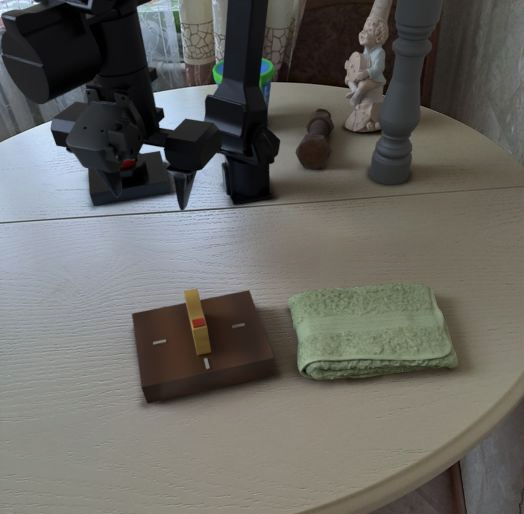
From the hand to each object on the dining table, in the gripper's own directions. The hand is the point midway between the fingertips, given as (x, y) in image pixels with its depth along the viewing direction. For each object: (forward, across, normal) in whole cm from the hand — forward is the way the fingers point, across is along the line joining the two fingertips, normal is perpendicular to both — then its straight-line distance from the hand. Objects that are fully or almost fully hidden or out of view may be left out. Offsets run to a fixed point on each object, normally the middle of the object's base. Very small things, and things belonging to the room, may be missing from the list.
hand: (150, 201), depth 62 cm
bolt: (+10, +11, +36) cm, 39 cm away
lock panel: (+9, +12, -13) cm, 20 cm away
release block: (+9, -15, +15) cm, 23 cm away
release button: (+6, -15, +15) cm, 22 cm away
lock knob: (+6, +12, -13) cm, 19 cm away
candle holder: (+10, +24, +31) cm, 41 cm away
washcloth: (+9, +30, -5) cm, 31 cm away
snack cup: (+10, -4, +40) cm, 41 cm away
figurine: (+10, +17, +47) cm, 51 cm away
